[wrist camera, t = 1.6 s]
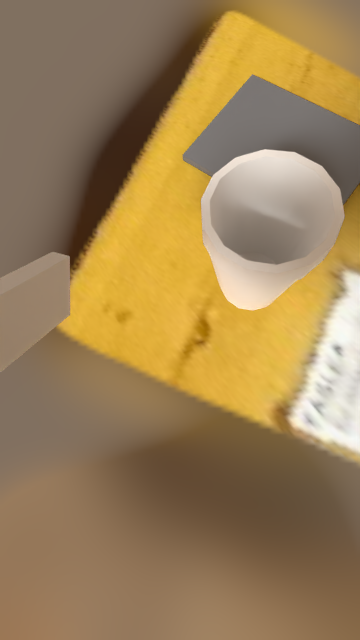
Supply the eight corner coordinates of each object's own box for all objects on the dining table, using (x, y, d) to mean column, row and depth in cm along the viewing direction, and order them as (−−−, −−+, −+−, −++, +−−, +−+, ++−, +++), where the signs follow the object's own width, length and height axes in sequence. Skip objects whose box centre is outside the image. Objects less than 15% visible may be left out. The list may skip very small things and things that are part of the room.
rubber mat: (387, 145, 38) (390, 140, 37) (318, 238, 36) (320, 234, 35) (251, 80, 42) (252, 74, 42) (183, 160, 40) (182, 155, 39)
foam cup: (204, 242, 37) (199, 154, 25) (291, 237, 36) (332, 143, 24) (207, 327, 34) (204, 277, 22) (301, 323, 34) (354, 269, 21)
